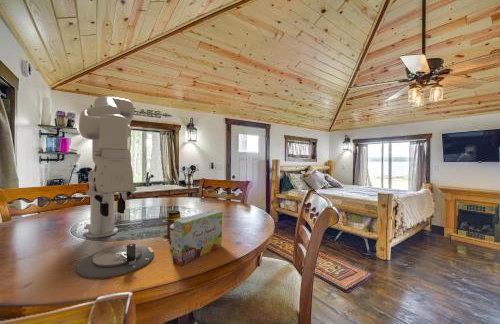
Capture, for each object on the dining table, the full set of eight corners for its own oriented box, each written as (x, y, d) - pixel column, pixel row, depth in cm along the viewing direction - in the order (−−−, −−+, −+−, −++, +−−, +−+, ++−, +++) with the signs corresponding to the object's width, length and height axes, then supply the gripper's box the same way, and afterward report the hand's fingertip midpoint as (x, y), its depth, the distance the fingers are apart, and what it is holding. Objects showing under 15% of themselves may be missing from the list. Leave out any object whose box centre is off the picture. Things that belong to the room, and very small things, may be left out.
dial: (85, 258, 76) (85, 240, 75) (129, 245, 88) (130, 229, 88) (107, 275, 65) (107, 253, 65) (154, 257, 77) (154, 239, 77)
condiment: (183, 238, 101) (183, 212, 101) (164, 241, 96) (164, 214, 96) (178, 233, 107) (179, 209, 107) (160, 236, 102) (161, 211, 102)
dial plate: (57, 275, 67) (57, 271, 67) (112, 246, 90) (112, 243, 90) (127, 280, 65) (127, 276, 65) (165, 249, 88) (165, 246, 88)
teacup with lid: (173, 242, 95) (173, 216, 94) (194, 243, 95) (194, 216, 95) (162, 254, 83) (163, 224, 82) (186, 255, 83) (187, 224, 83)
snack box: (182, 266, 74) (183, 222, 74) (171, 262, 77) (172, 220, 77) (222, 246, 92) (223, 210, 92) (212, 243, 95) (212, 209, 95)
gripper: (85, 154, 58) (85, 222, 58) (146, 156, 72) (145, 211, 72) (76, 154, 63) (75, 218, 63) (134, 156, 76) (134, 208, 76)
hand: (113, 213), depth 67 cm, fingers open, 3 cm apart
